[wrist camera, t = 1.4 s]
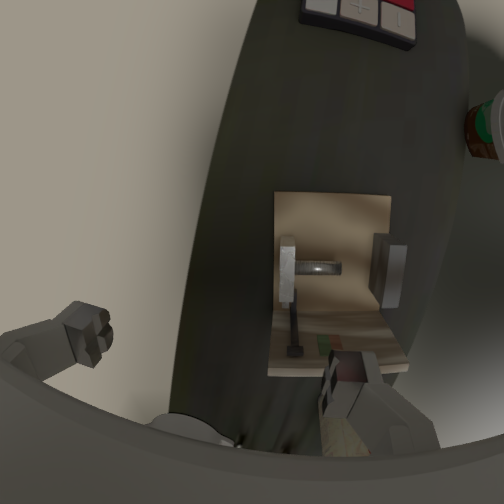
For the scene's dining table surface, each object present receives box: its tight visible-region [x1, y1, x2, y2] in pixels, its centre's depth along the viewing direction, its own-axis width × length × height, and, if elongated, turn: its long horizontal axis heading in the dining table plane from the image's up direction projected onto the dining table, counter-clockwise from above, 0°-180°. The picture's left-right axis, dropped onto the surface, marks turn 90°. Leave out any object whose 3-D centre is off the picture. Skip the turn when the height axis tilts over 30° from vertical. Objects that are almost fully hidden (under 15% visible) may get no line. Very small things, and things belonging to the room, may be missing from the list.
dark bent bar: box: [287, 289, 304, 356], centre depth 31 cm, size 3×2×10 cm, turn 1°
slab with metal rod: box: [279, 236, 342, 308], centre depth 33 cm, size 8×7×5 cm
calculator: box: [299, 0, 417, 51], centre depth 25 cm, size 11×4×15 cm
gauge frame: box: [268, 191, 409, 377], centre depth 30 cm, size 16×14×14 cm
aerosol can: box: [318, 393, 371, 457], centre depth 33 cm, size 7×7×20 cm
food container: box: [464, 90, 504, 164], centre depth 24 cm, size 12×6×10 cm, turn 134°
